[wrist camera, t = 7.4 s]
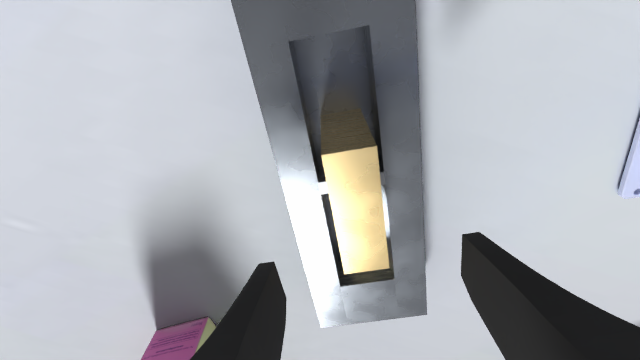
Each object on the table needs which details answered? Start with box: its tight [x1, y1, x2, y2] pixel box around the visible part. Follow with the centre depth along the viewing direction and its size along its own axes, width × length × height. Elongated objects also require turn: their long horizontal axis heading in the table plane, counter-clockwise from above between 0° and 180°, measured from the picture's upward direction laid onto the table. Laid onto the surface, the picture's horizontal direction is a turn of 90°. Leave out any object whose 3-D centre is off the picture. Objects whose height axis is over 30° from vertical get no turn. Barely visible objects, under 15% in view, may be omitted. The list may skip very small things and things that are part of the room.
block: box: [231, 0, 427, 328], centre depth 20 cm, size 8×24×3 cm, turn 10°
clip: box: [320, 109, 389, 274], centre depth 18 cm, size 2×7×6 cm, turn 11°
